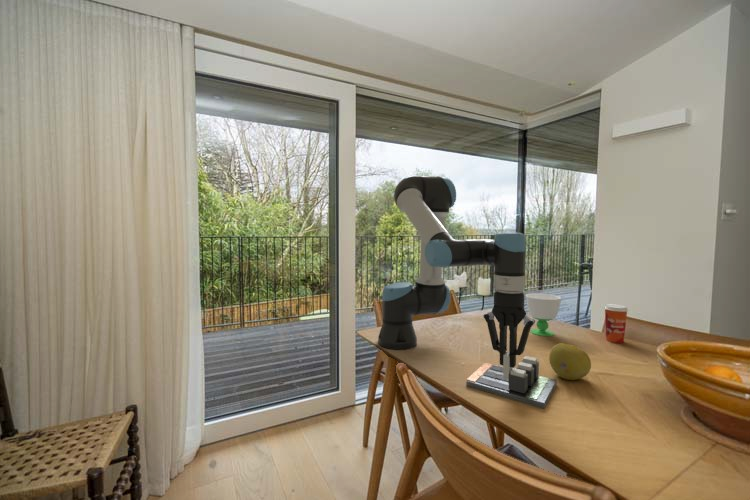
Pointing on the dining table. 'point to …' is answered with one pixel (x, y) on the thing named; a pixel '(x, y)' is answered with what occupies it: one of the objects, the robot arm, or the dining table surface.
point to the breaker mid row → (527, 371)
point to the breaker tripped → (518, 380)
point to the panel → (493, 382)
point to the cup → (543, 311)
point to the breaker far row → (534, 364)
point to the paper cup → (615, 322)
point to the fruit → (569, 361)
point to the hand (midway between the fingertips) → (507, 377)
